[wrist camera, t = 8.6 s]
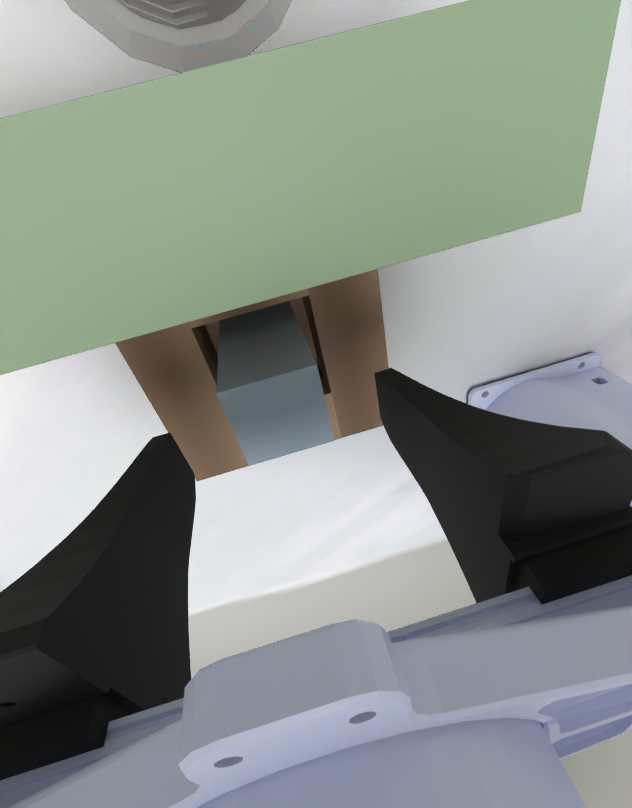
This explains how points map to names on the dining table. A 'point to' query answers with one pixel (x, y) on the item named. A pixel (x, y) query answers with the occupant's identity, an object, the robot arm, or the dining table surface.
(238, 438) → the peg
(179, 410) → the socket holder
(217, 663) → the robot arm
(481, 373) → the dining table surface
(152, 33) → the french press
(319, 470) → the dining table surface
